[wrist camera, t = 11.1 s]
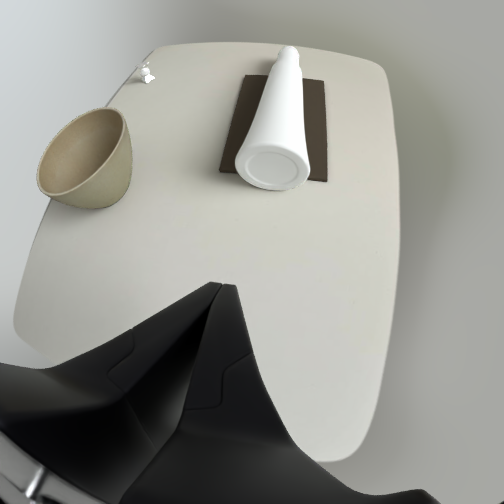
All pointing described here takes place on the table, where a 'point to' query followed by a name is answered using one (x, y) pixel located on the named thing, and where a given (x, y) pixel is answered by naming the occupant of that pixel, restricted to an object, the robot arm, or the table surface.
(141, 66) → the wrapped candy
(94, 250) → the table surface
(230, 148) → the mat
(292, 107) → the cosmetic bottle
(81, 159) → the bowl
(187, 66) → the table surface
